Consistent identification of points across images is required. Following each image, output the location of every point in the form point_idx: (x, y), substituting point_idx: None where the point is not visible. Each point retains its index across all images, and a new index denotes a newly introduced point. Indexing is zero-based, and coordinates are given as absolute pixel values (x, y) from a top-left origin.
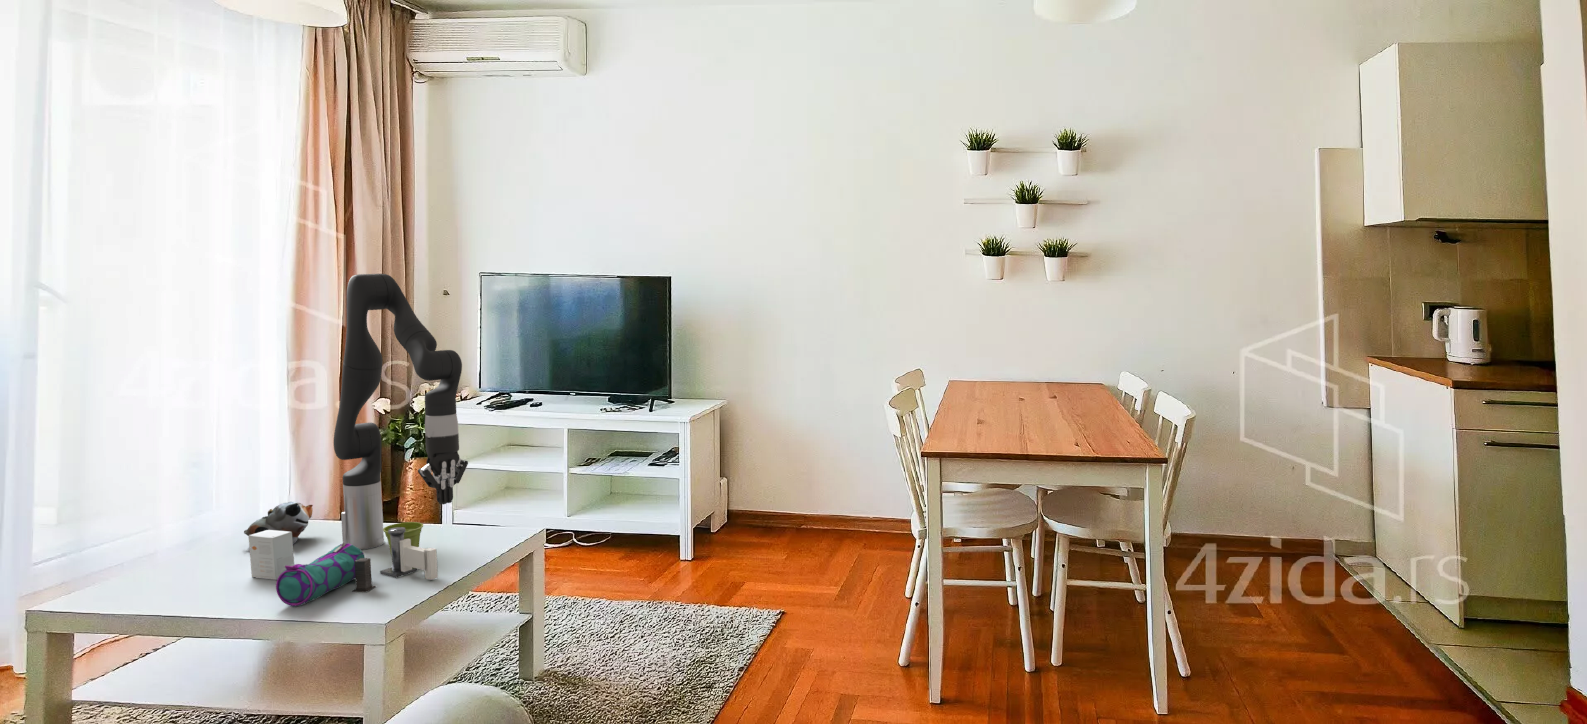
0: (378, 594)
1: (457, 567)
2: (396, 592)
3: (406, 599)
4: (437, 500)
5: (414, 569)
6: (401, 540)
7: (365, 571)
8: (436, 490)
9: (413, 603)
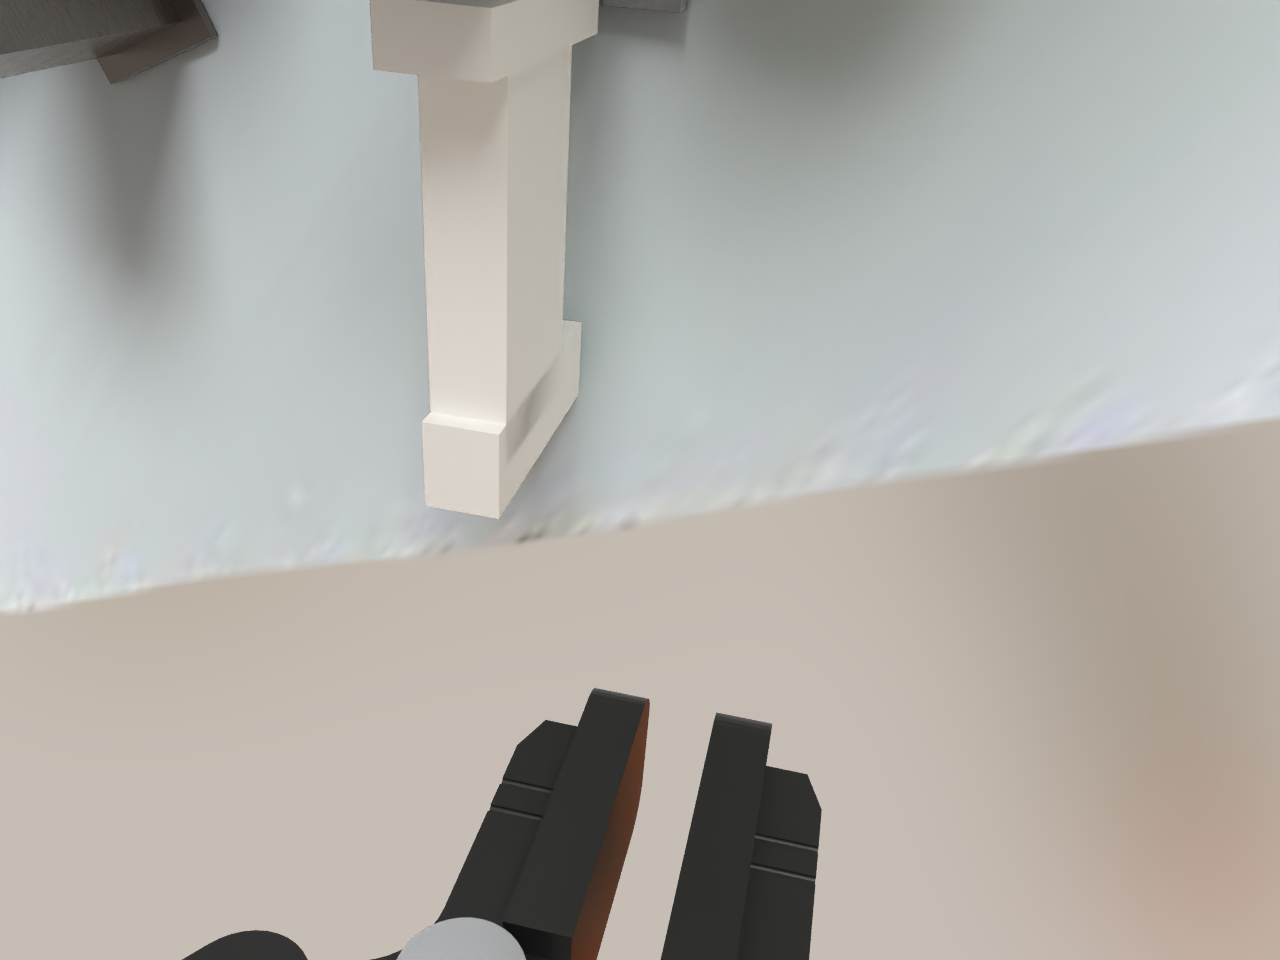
0: (152, 215)
1: (914, 302)
2: (251, 307)
3: (221, 473)
4: (525, 745)
5: (648, 7)
6: (393, 7)
7: (3, 77)
8: (444, 908)
9: (212, 558)
